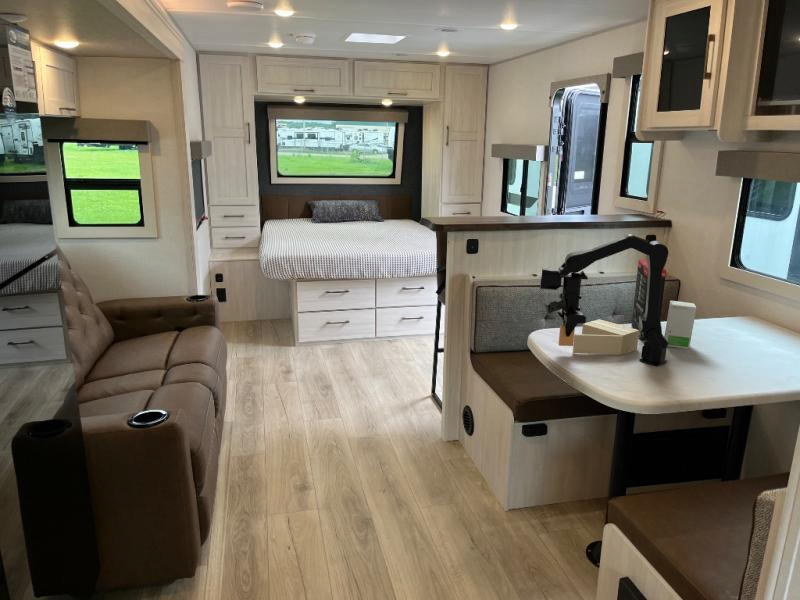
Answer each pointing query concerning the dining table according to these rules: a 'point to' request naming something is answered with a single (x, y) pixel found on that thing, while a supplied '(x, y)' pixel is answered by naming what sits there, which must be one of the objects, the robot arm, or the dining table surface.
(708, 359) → the dining table surface
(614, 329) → the carton
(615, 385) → the dining table surface
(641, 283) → the graphics card box
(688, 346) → the skincare box
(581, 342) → the carton flap
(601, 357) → the dining table surface
